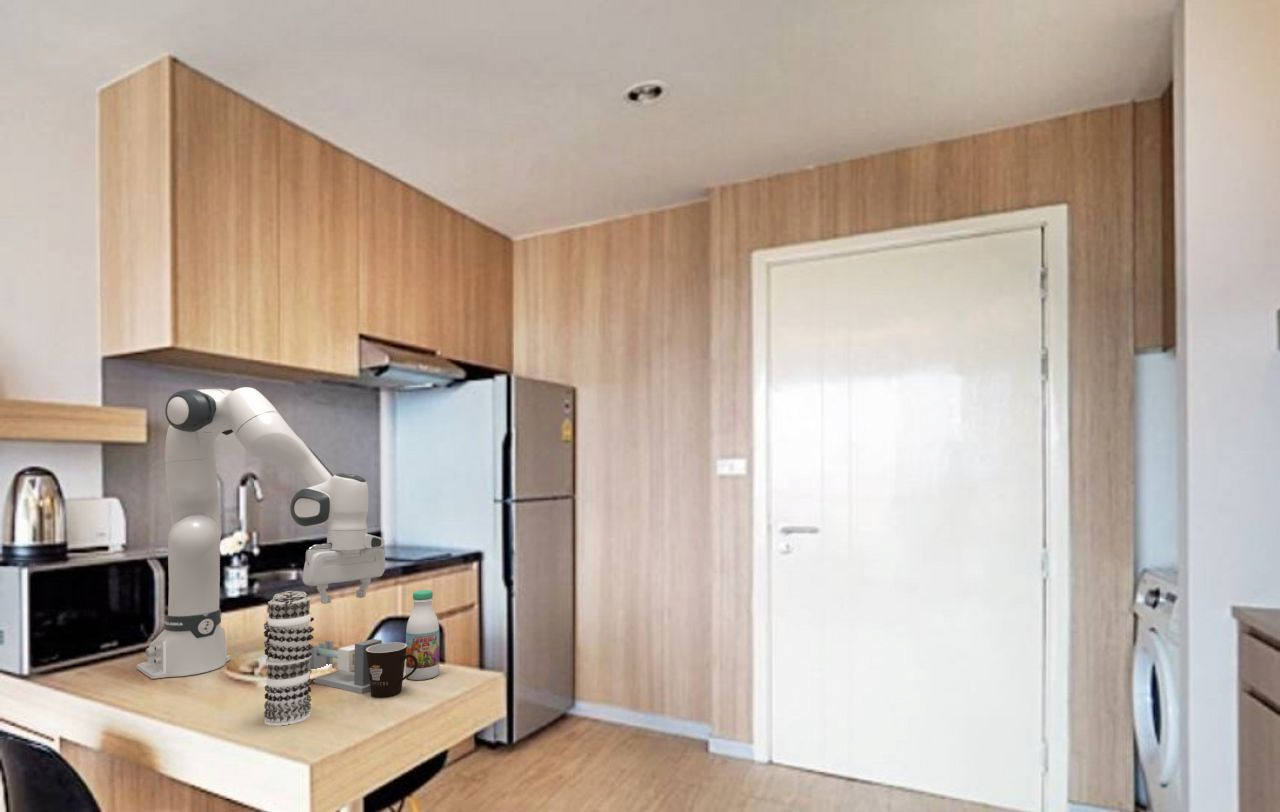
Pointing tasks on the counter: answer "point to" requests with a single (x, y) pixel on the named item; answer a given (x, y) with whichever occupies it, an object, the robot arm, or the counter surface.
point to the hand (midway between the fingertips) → (343, 600)
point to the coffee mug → (387, 668)
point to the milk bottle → (422, 637)
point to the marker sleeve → (346, 658)
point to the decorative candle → (288, 659)
